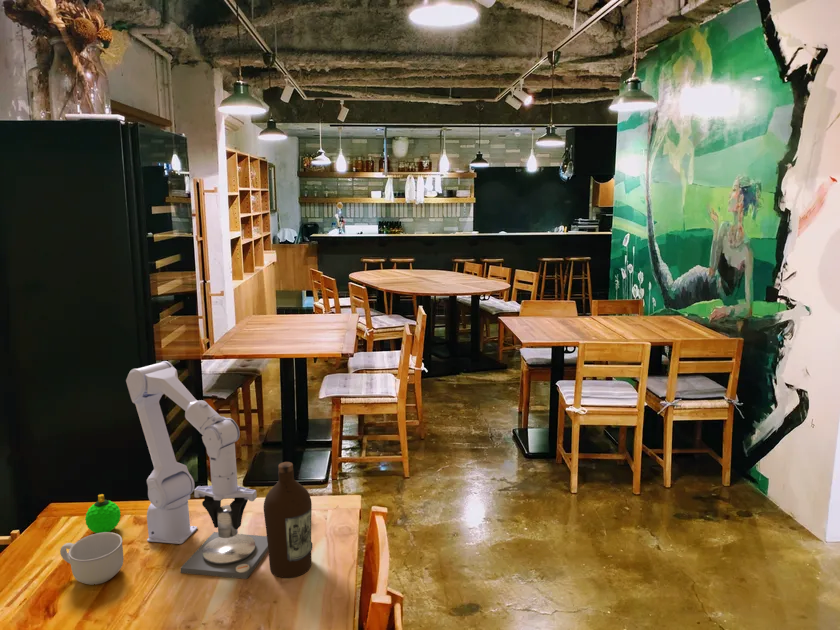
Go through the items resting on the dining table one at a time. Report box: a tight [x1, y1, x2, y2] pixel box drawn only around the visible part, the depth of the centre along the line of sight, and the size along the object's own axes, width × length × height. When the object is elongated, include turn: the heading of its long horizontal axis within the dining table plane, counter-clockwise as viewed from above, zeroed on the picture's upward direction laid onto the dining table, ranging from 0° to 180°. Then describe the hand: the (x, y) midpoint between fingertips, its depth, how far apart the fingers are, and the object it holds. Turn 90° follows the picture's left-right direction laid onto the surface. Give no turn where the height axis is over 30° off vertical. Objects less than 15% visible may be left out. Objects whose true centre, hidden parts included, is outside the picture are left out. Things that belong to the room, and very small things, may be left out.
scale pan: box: [202, 533, 255, 564], centre depth 151 cm, size 12×12×1 cm
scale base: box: [179, 531, 268, 580], centre depth 151 cm, size 16×16×2 cm
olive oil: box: [263, 461, 313, 579], centre depth 145 cm, size 11×11×25 cm
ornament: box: [84, 493, 122, 534], centre depth 163 cm, size 8×8×10 cm
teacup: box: [59, 531, 124, 586], centre depth 144 cm, size 14×11×8 cm
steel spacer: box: [217, 504, 239, 538], centre depth 150 cm, size 4×4×6 cm
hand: (227, 526), depth 150 cm, fingers closed on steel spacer, 4 cm apart
